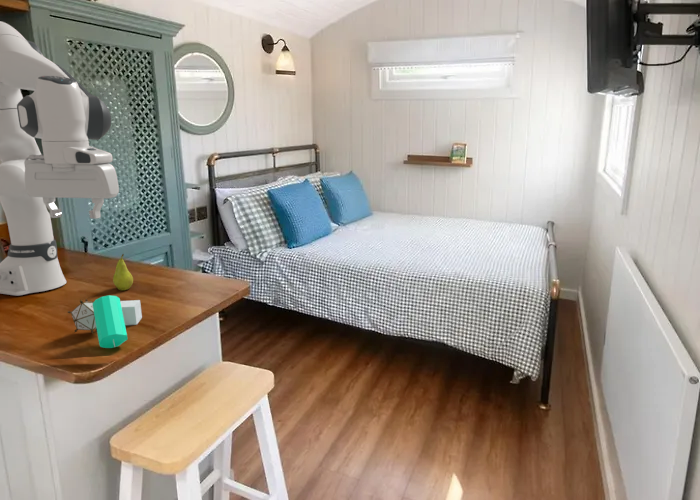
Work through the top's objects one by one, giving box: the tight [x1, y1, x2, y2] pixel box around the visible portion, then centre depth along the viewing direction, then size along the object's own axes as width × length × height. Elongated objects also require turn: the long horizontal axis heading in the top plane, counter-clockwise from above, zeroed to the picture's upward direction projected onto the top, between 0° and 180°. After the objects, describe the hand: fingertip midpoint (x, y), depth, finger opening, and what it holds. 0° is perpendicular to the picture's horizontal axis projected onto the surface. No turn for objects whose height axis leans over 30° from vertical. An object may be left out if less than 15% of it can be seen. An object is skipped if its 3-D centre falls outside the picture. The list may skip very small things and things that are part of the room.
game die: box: [67, 298, 97, 334], centre depth 120 cm, size 9×8×10 cm
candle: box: [92, 294, 129, 349], centre depth 113 cm, size 6×6×12 cm
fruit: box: [112, 253, 134, 292], centre depth 152 cm, size 6×6×12 cm
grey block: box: [120, 299, 143, 326], centre depth 128 cm, size 5×5×5 cm
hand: (75, 217), depth 110 cm, fingers open, 8 cm apart
